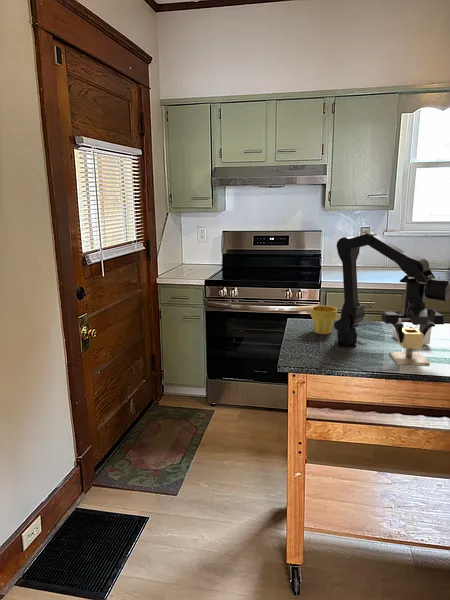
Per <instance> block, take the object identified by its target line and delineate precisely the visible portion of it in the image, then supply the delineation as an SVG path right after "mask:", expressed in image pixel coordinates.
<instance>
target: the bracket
mask: <svg viewBox="0 0 450 600" xmlns="http://www.w3.org/2000/svg"><path fill="white" fill-rule="evenodd" d="M407 328H408V329H417V327H415V326H413V325H409V327H407ZM431 335H432V327H431V328H430V329H429V330H428V331H427V333H426V334H425V336H424V338H423V346H425V345H430V344H431ZM392 336H393V338H394V339H396V340H398V336H397V333H396V330H395V327H394V328H393V329H392Z"/></svg>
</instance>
